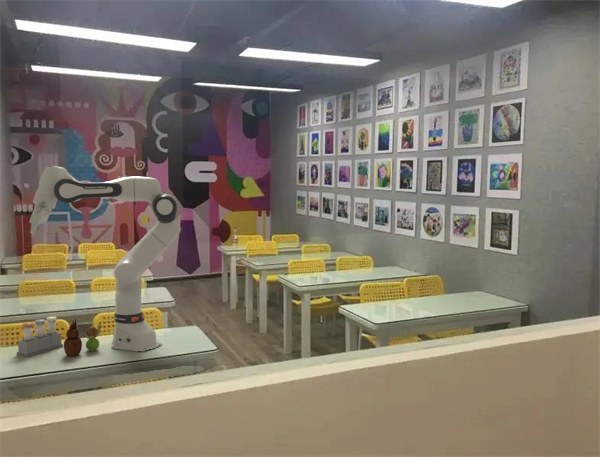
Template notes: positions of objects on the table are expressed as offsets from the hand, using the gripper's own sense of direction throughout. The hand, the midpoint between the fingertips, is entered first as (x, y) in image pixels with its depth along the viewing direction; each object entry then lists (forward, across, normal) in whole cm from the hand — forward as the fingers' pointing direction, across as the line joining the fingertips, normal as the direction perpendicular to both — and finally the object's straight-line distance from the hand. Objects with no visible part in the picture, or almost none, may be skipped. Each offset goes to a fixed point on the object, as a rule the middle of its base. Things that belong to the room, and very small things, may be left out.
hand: (34, 232), depth 220 cm
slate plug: (+42, -5, -16) cm, 45 cm away
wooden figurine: (+43, -15, -31) cm, 55 cm away
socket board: (+47, -5, -18) cm, 50 cm away
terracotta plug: (+43, -9, -12) cm, 46 cm away
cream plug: (+41, -1, -20) cm, 46 cm away
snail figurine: (+40, -10, -38) cm, 57 cm away
